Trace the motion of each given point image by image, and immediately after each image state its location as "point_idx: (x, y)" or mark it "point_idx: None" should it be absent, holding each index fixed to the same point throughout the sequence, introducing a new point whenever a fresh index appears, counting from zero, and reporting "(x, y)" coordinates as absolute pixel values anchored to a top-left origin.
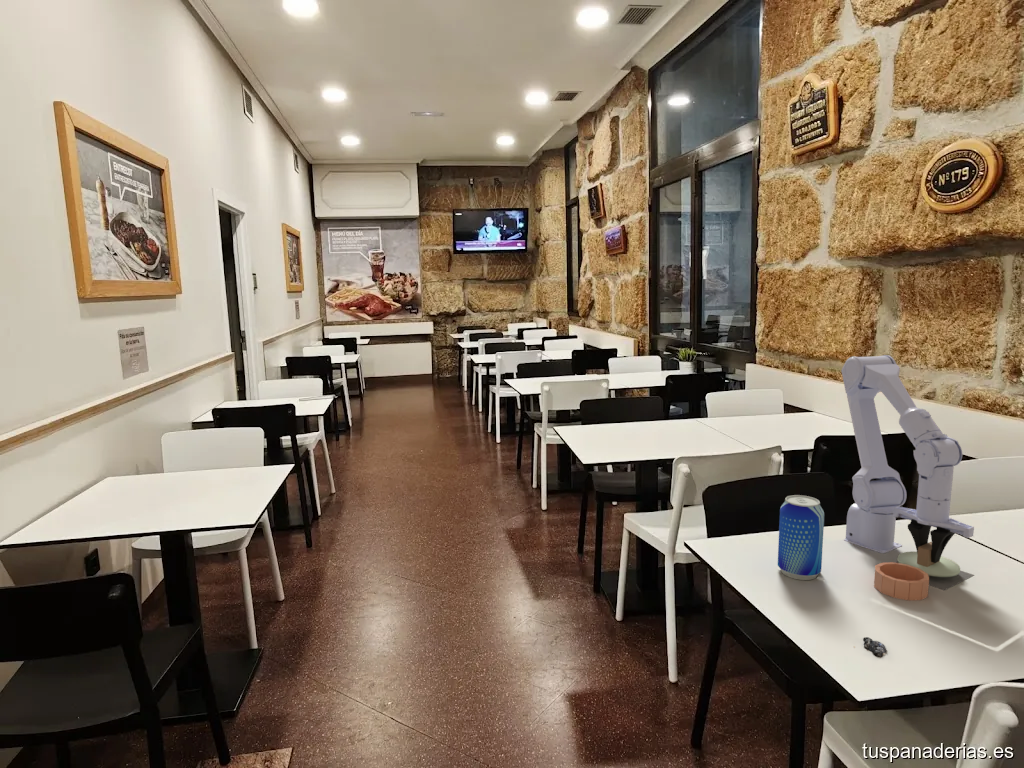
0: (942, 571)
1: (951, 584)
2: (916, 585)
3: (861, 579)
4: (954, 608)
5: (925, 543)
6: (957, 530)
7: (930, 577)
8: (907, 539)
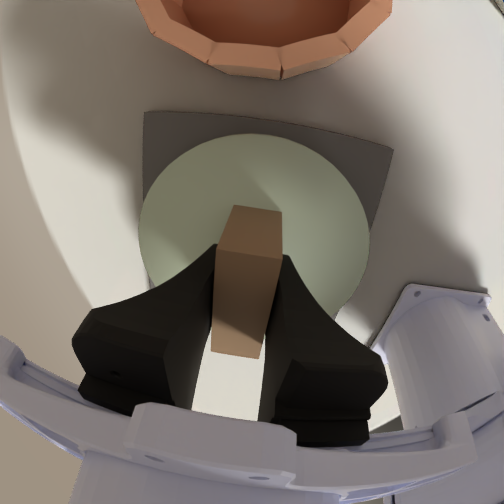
0: (171, 204)
1: (150, 182)
2: None
3: (411, 16)
4: (94, 32)
5: (269, 331)
6: (45, 390)
7: None
8: None
